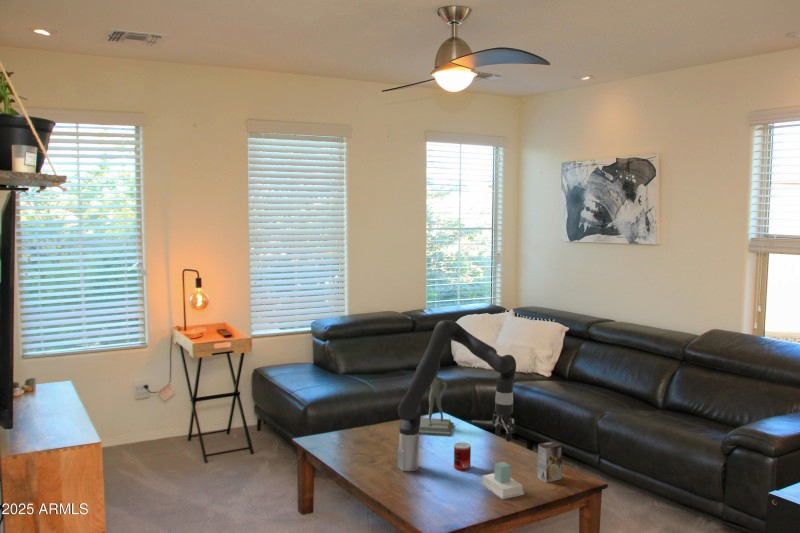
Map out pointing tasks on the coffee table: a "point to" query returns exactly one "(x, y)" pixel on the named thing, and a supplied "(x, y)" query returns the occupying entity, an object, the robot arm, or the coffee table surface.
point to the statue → (439, 425)
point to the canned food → (462, 456)
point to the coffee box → (549, 461)
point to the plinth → (502, 487)
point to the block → (502, 472)
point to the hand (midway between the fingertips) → (503, 438)
